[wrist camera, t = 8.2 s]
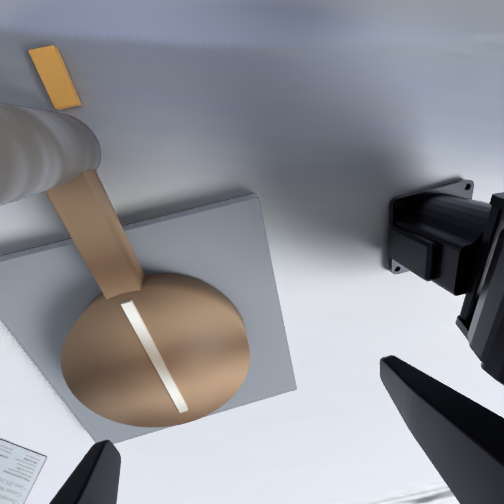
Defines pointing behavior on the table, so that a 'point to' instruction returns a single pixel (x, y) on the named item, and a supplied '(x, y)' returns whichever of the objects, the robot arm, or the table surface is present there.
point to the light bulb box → (17, 472)
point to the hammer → (123, 290)
